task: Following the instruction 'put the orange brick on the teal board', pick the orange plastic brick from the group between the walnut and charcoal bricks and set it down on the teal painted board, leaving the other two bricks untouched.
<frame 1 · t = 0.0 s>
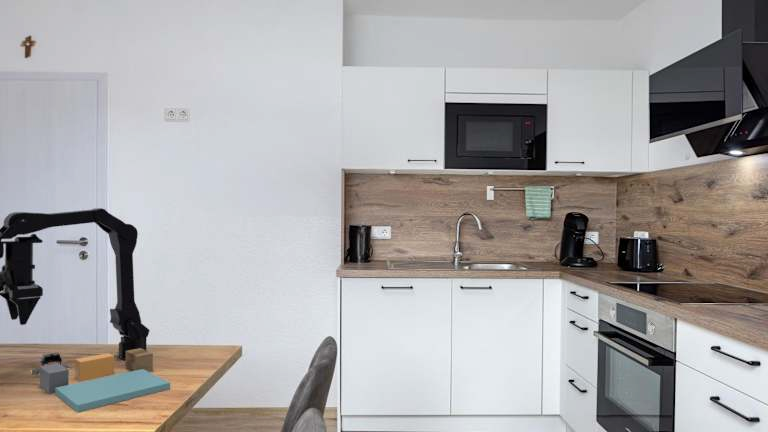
hand: (18, 322, 127), 15 cm above the table, fingers open, 9 cm apart
walnut brick: (138, 370, 135), on the table
teal board: (113, 391, 118), on the table
black angular block: (51, 371, 135), on the table
orange brick: (94, 376, 130), on the table
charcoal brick: (53, 388, 120), on the table
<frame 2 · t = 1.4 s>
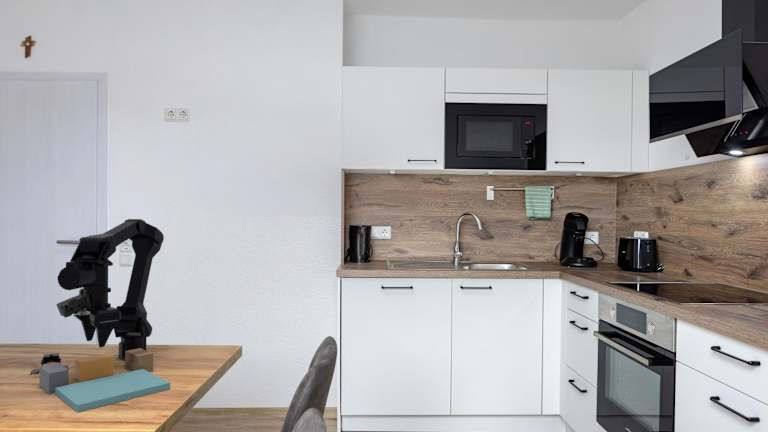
hand: (95, 343, 130), 8 cm above the table, fingers open, 9 cm apart
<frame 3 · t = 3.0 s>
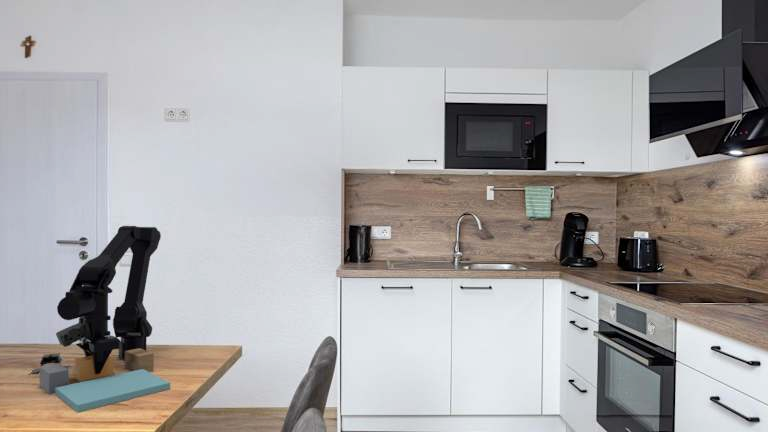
hand: (94, 371, 130), 1 cm above the table, fingers closed on orange brick, 4 cm apart
orange brick: (94, 375, 130), on the table, touching gripper
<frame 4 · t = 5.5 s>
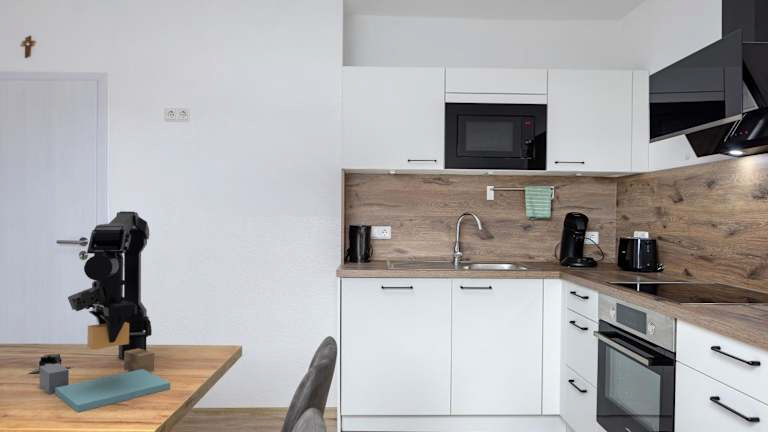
hand: (108, 340, 120), 12 cm above the table, fingers closed on orange brick, 4 cm apart
orange brick: (108, 345, 120), point 11 cm above the table, touching gripper
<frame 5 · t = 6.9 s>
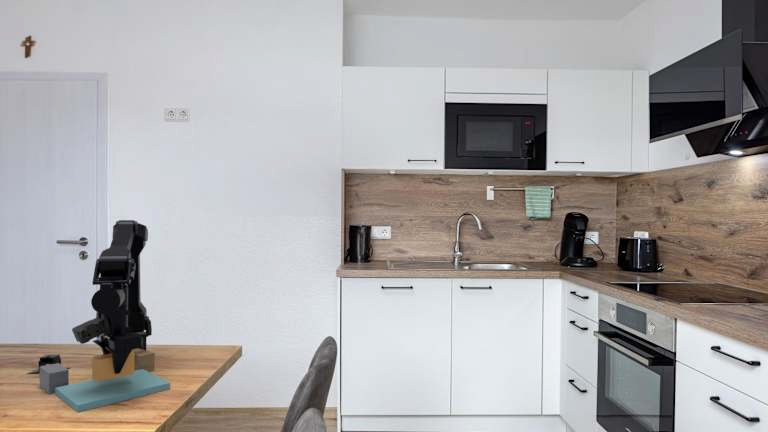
hand: (113, 371, 119), 5 cm above the table, fingers closed on orange brick, 4 cm apart
orange brick: (113, 375, 118), point 4 cm above the table, touching gripper
when the fingers open (3 cm above the table, at t = 7.9 s): orange brick stays where it is, resting on teal board.
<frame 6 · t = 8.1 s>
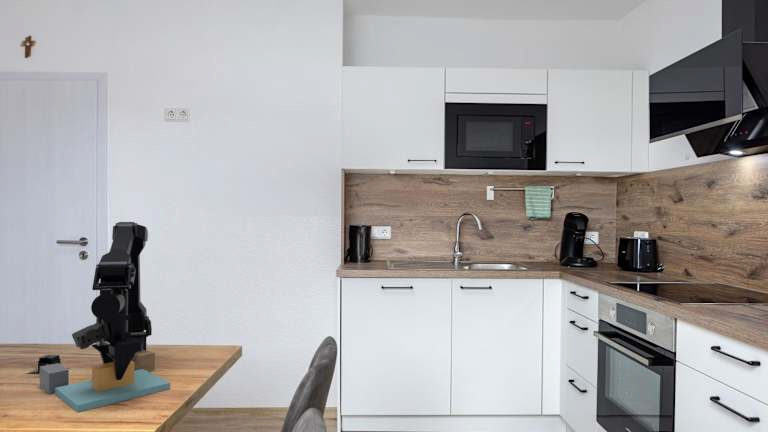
hand: (113, 376, 118), 3 cm above the table, fingers open, 6 cm apart
orange brick: (113, 385, 118), point 1 cm above the table, touching teal board
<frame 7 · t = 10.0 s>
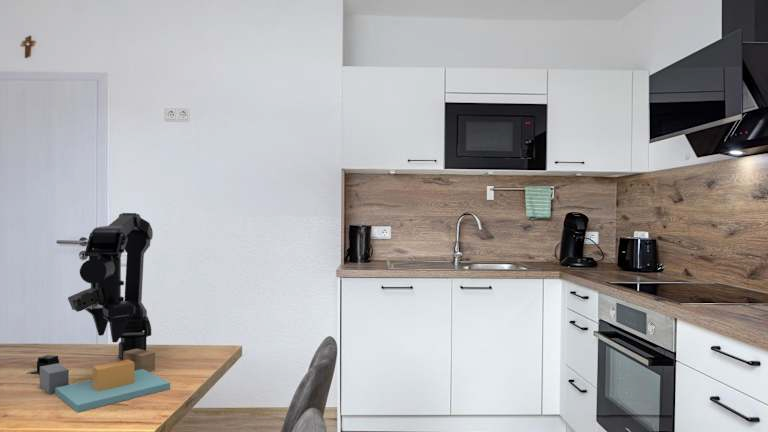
hand: (107, 338, 126), 11 cm above the table, fingers open, 9 cm apart
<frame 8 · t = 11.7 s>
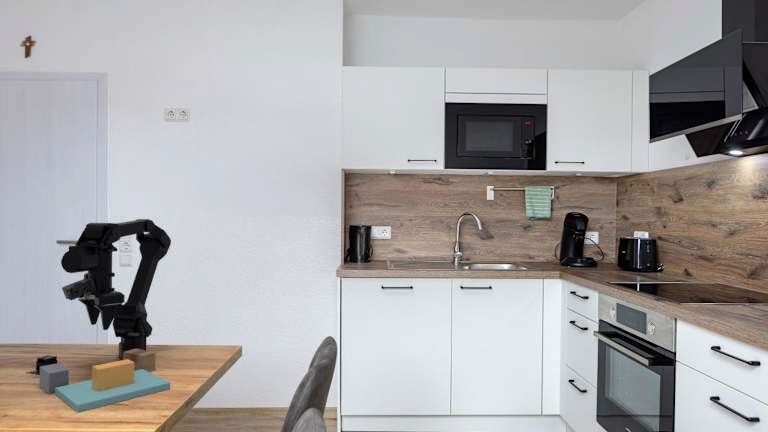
hand: (99, 327, 133), 12 cm above the table, fingers open, 9 cm apart
at the end: orange brick inside the target area on the teal board (0.1 cm from its centre), point 1.5 cm above the teal board's base; walnut brick moved 0.2 cm from its start; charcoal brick moved 0.2 cm from its start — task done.
